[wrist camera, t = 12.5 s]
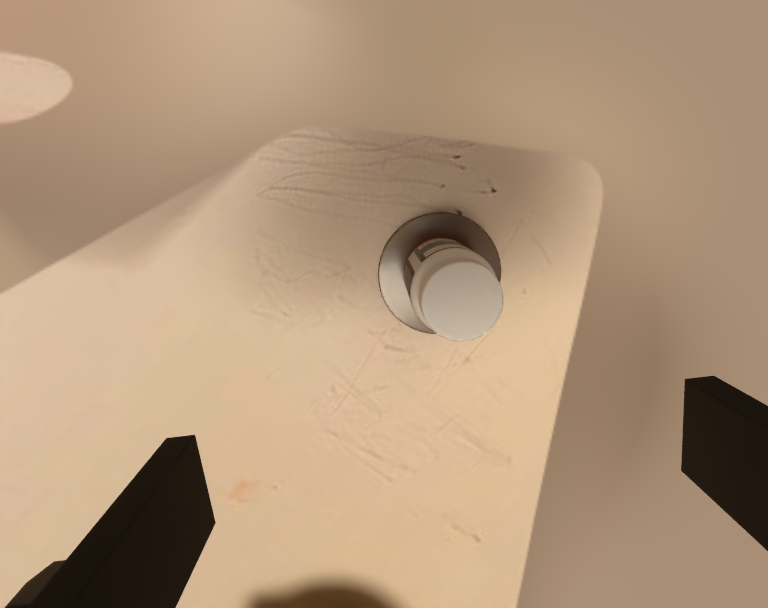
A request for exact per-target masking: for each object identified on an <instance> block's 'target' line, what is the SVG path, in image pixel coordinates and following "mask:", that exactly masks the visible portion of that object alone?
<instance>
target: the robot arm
mask: <svg viewBox="0 0 768 608" xmlns="http://www.w3.org/2000/svg"><path fill="white" fill-rule="evenodd" d="M683 417H684V418H683V441H682V444H683V445H682V466H681V471H682V472H683V473H684V474H685V475H687V476H688V477H689V478H690V479H691V480H692V481H693V482H694V483H695V484H696V485H697V486H698V487H700V488H701V489H702V490H703V491H704V492H705V493H706V494H707V495H708V496H709V497H710V498H711V499H712V500H713V501H714V502H716V503H717V504H718V505H719V506H720V507H721V508H722V509H723V510H724V511H725V512H726V513H728V515H730V516H731V517H732V518H733V519H734V520H735V521H736V522H737V523H738V524H739V525H740V526H742V528H744V529H745V530H746V531H747V532H748V533H749V534H750V535H751V536H752V537H753V538H754V539H755V540H756V541H758V542H759V543H760V544H761V545H762V546H763V547H764V548H765V549H766V550H767V551H768V406H767V405H765V404H763V403H761V402H760V401H758V400H756V399H754V398H752V397H751V396H749V395H747V394H745V393H743V392H742V391H740V390H738V389H736V388H735V387H733V386H731V385H729V384H728V383H726V382H724V381H722V380H720V379H719V378H717V377H715V376H708V377H699V378H691V379H685V391H684V416H683ZM214 525H215V519H214V515H213V510H212V506H211V502H210V497H209V493H208V489H207V485H206V480H205V476H204V472H203V467H202V463H201V459H200V455H199V450H198V446H197V442H196V437H195V435H190V436H181V437H173V438H166V440H165V441H164V442H163V443H162V444H161V446H160V447H159V448H158V449H157V450H156V452H155V453H154V454H153V455H152V457H151V458H150V459H149V460H148V461H147V463H146V464H145V465H144V466H143V467H142V469H141V470H140V471H139V472H138V474H137V475H136V476H135V477H134V478H133V480H132V481H131V482H130V483H129V484H128V486H127V487H126V488H125V489H124V491H123V492H122V493H121V494H120V495H119V497H118V498H117V499H116V500H115V501H114V503H113V504H112V505H111V506H110V507H109V509H108V510H107V511H106V512H105V514H104V515H103V516H102V517H101V518H100V520H99V521H98V522H97V523H96V524H95V526H94V527H93V528H92V529H91V531H90V532H89V533H88V534H87V535H86V537H85V538H84V539H83V540H82V541H81V543H80V544H79V545H78V546H77V548H76V549H75V550H74V551H73V552H72V554H71V555H70V556H69V557H68V558H67V560H64V561H55V562H53V563H52V564H50V565H49V566H48V567H46V568H45V569H44V570H43V571H41V572H40V573H39V574H37V575H36V576H35V577H34V578H32V579H31V580H30V581H28V582H27V583H26V584H25V585H24V586H23V587H22V589H21V590H20V591H19V592H18V593H17V594H16V595H15V597H14V598H13V599H12V600H11V601H10V602H9V603H8V604H7V606H6V607H5V608H175V607H176V605H177V603H178V601H179V599H180V597H181V595H182V593H183V590H184V588H185V586H186V584H187V582H188V580H189V578H190V576H191V574H192V571H193V569H194V567H195V565H196V563H197V561H198V559H199V557H200V555H201V552H202V550H203V548H204V546H205V544H206V542H207V540H208V538H209V535H210V533H211V531H212V529H213V527H214Z"/></svg>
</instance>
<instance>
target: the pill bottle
mask: <svg viewBox="0 0 768 608" xmlns="http://www.w3.org/2000/svg"><path fill="white" fill-rule="evenodd" d="M404 282H405V286H406V289H407V292H408V295H409V298H410V301H411V304H412V307H413V309H414V311H415V313H416V315H417V316H418V318H419V319H420V320H421V321H422V322H423V323H424V324H425V325H426V326H427V327H428V328H430V329H432V330H433V331H434V332H435V333H437V334H438V335H440V336H442V337H444V338H446V339H449V340H453V341H469V340H473V339H476V338H478V337H480V336H482V335H484V334H485V333H487V332H488V331H489V330H490V329H491V328H492V327H493V326H494V325H495V323H496V322H497V320H498V319H499V317H500V314H501V312H502V308H503V292H502V288H501V285H500V283H499V281H498V279H497V277H496V274H495V272H494V270H493V268H492V267H491V266H490V264H489V263H488V262H487V261H486V260H485V259H484V258H483V257H482V256H480V255H479V254H477V253H476V252H474V251H472V250H471V249H469V248H467V247H465V246H464V245H462V244H461V243H459V242H457V241H454V240H451V239H446V238H437V239H432V240H428V241H426V242H424V243H422V244H421V245H419V246H418V247H417V248H416V249H415V250H414V251H413V252H412V253H411V255H410V256H409V258H408V260H407V262H406V265H405V270H404Z"/></svg>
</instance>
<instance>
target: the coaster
mask: <svg viewBox="0 0 768 608" xmlns="http://www.w3.org/2000/svg"><path fill="white" fill-rule="evenodd" d="M437 238H446V239H451V240H454V241H457V242H459V243H461V244H462V245H464V246H465V247H467V248H469V249H471V250H472V251H474V252H476V253H477V254H479V255H480V256H482V257H483V258H484V259H485V260H486V261H487V262H488V263H489V264H490V266H491V267H492V268H493V270H494V272H495V274H496V277H497V279H498V281H499V283H500V278H501V265H500V259H499V255H498V252H497V249H496V247H495V245H494V243H493V241H492V240H491V238H490V237H489V236H488V234H487V233H486V232H485V231H484V230H483V229H482V228H481V227H480V226H478V225H477V224H476V223H474V222H473V221H471V220H469V219H467V218H465V217H462V216H459V215H455V214H451V213H431V214H426V215H422V216H419V217H417V218H415V219H412V220H410V221H409V222H407V223H406V224H404V225H403V226H402V227H400V228H399V229H398V230H397V231H396V232H395V233H394V234H393V235H392V237H391V238H390V240H389V241H388V242H387V244H386V246H385V248H384V250H383V253H382V255H381V259H380V263H379V271H378V276H379V286H380V291H381V294H382V297H383V299H384V301H385V303H386V305H387V307H388V308H389V310H390V311H391V312H392V313H393V315H394V316H395V317H396V318H398V319H399V320H400V321H401V322H402V323H404V324H405V325H407V326H409V327H411V328H413V329H415V330H418V331H421V332H425V333H431V334H437V333H435V332H434V331H433V330H432V329H430V328H428V327H427V326H426V325H425V324H424V323H423V322H422V321H421V320H420V319H419V318H418V316H417V315H416V313H415V311H414V309H413V307H412V304H411V301H410V298H409V295H408V292H407V289H406V286H405V282H404V270H405V265H406V262H407V260H408V258H409V256H410V255H411V253H412V252H413V251H414V250H415V249H416V248H417V247H418V246H419V245H421V244H422V243H424V242H426V241H428V240H432V239H437Z"/></svg>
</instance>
